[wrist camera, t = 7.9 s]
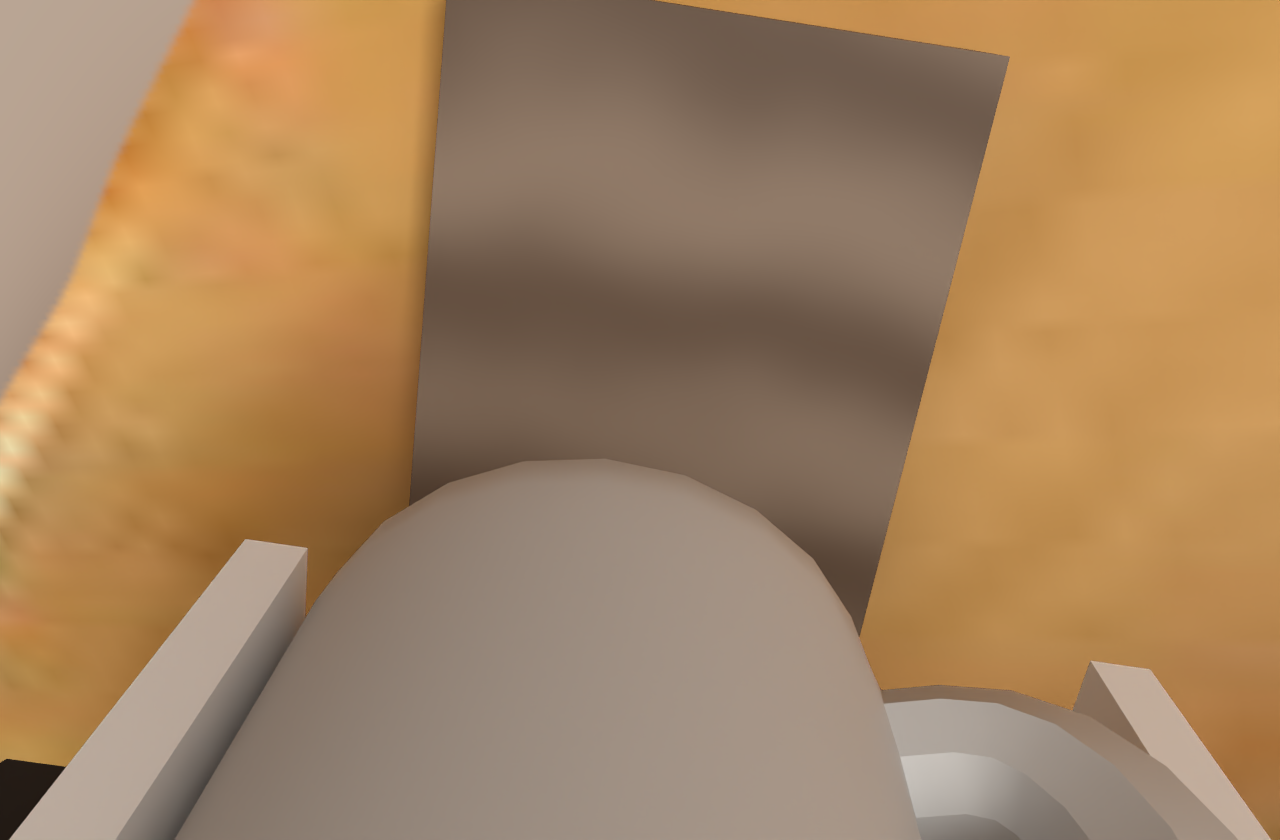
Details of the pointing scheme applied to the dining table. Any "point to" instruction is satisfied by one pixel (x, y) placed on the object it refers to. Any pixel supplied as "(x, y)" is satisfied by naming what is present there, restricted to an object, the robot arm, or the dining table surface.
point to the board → (695, 253)
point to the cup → (640, 694)
